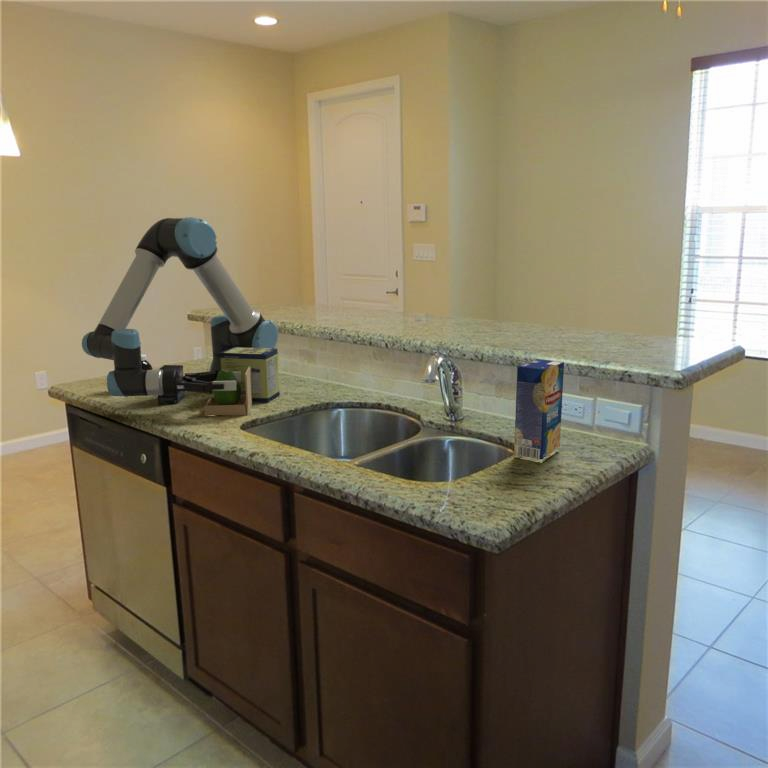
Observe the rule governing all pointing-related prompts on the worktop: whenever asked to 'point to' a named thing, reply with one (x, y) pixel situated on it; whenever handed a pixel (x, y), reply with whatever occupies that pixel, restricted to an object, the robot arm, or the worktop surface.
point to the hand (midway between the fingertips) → (238, 380)
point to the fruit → (227, 396)
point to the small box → (172, 398)
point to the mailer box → (238, 409)
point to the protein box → (255, 370)
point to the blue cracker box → (538, 408)
